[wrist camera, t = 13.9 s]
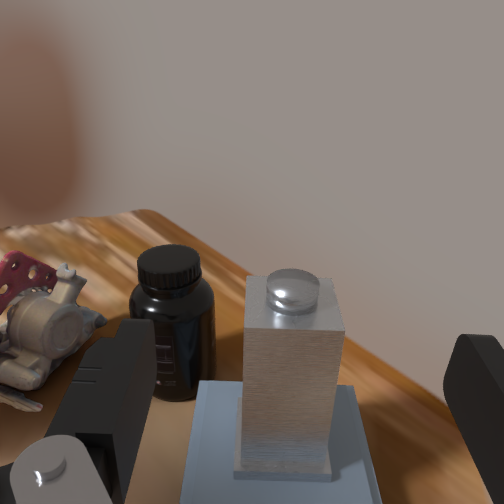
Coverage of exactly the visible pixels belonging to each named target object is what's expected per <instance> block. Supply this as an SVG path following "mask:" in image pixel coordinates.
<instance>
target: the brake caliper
mask: <svg viewBox="0 0 504 504" xmlns="http://www.w3.org/2000/svg"><path fill="white" fill-rule="evenodd" d="M14 263H15V266H14V267H12V266H13V264H14ZM31 270H35V272H36V273H35V276H34V277H33V278H32V279H30V278H29V277H28V274H29V272H30V271H31ZM46 276H48V278H47V279H46ZM86 282H87V280H86V279H85V278H82V277H80V276H77V275H76V270H75V269H73V270H71V271H69V270H68V265H67V264H66V263H62V264H61V265H60V266H59V268H58V270H55V269H54V268H52V267H50V266H49V265H46V264H44V263H42V262H40V261H38V260H36V259H34V258H32V257H30V256H27V255H25V254H23V253H22V252H20V251H10V252H8V253H7V254H6V255H5V256H4V258H3V259H2V261H1V262H0V288H1V287H2V286H3V285H5V284H6V285H7V286H8V288H7V291H6V292H5V293H4V294H0V315H1V314H2V313H3V311H4V310H5V309H6V308H7V307H8V306H9V305H11V304H12V305H13V306H12V307H11V308H10V309H9V310H8V312H7V321H6V322H5V323H3V324H1V325H0V383H4V384H7V385H9V386H4V385H0V403H5V404H7V405H11V406H13V407H14V408H16V409H19V410H22V411H25V412H39V411H41V410H42V408H43V405H42V404H40V403H37V402H35V401H33V400H30V399H26V398H25V396H24V393H21V392H19V391H15V390H13V389H12V387H15V388H17V389H20V390H25V391H28V390H38V389H40V388H41V387H42V385H43V384H44V383H45V381H46V379H47V377H48V376H49V375H50V374H51V373H52V372H53V371H54V370H55V369H56V368H58V367H59V365H60V364H61V363H62V361H63V360H64V359H65V358H66V357H68V356H70V355H72V354H74V353H75V352H76V351H77V350H78V349H79V348H80V347H81V346H82V345H83V343H85V342H86V341H87V340H88V339H89V338H90V337H91V336H92V335H93V332H94V331H95V329H97V328H99V327H102V326H104V325H106V323H107V319H106V318H104V317H103V315H101V314H100V313H98V312H96V311H93V310H90V309H89V308H87V307H83V306H79V305H77V303H76V299H77V297H78V295H79V293H80V291H81V289H82V288H83V286H84V285H85V284H86ZM32 289H35V290H36V292H33V291H32ZM38 289H40V290H42V291H38ZM48 289H52V292H50V293H49V292H48V291H47V290H48ZM10 386H11V387H10Z"/></svg>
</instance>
